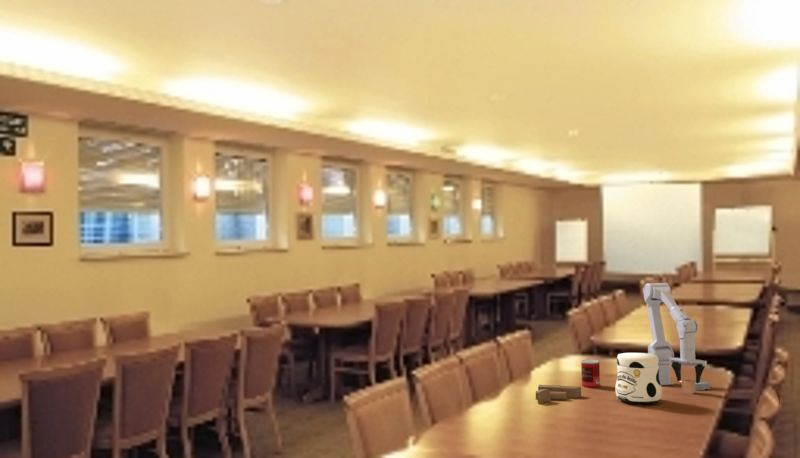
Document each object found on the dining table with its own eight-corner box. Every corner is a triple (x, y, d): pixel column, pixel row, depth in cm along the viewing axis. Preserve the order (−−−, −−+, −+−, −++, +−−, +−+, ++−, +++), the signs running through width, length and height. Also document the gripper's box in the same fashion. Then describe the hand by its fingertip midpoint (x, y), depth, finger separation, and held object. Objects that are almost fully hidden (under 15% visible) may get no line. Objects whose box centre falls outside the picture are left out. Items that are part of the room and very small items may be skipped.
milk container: (611, 404, 273) (610, 357, 273) (620, 395, 288) (619, 351, 289) (658, 408, 265) (657, 360, 265) (664, 398, 280) (663, 353, 281)
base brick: (694, 391, 295) (694, 383, 295) (685, 387, 302) (685, 380, 302) (710, 390, 296) (709, 382, 296) (700, 387, 303) (700, 379, 303)
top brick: (681, 392, 291) (681, 380, 291) (685, 391, 294) (685, 378, 294) (691, 394, 288) (691, 381, 288) (695, 392, 291) (694, 379, 291)
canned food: (598, 384, 310) (597, 359, 310) (601, 388, 302) (601, 362, 302) (580, 384, 311) (579, 359, 311) (583, 388, 303) (582, 362, 303)
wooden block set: (536, 382, 292) (580, 383, 288) (536, 395, 292) (581, 397, 288) (534, 390, 276) (582, 391, 272) (535, 404, 276) (582, 406, 272)
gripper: (666, 348, 293) (667, 381, 293) (702, 351, 283) (703, 385, 283) (672, 346, 298) (673, 378, 298) (708, 349, 289) (709, 382, 288)
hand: (688, 381), depth 291 cm, fingers open, 7 cm apart
